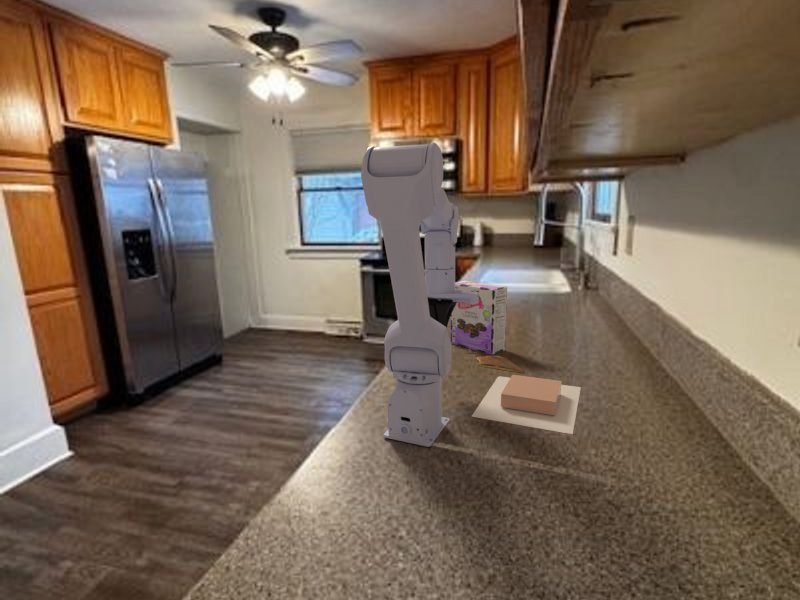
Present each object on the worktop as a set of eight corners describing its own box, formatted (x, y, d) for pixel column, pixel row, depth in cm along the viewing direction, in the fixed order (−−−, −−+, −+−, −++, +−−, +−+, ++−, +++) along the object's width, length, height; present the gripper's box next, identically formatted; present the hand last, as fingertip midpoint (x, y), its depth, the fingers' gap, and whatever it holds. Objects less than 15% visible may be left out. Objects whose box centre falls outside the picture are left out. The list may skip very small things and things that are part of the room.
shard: (524, 378, 95) (524, 370, 95) (490, 381, 94) (490, 373, 93) (503, 361, 105) (503, 354, 105) (472, 364, 104) (472, 356, 104)
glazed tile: (500, 408, 79) (554, 416, 75) (501, 393, 78) (555, 402, 74) (512, 387, 87) (560, 394, 84) (512, 374, 87) (561, 381, 83)
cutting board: (572, 437, 69) (572, 434, 69) (471, 419, 76) (471, 416, 76) (580, 390, 87) (580, 387, 87) (498, 378, 94) (498, 376, 93)
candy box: (449, 343, 119) (449, 282, 115) (464, 339, 122) (464, 279, 119) (491, 355, 108) (493, 288, 105) (506, 350, 112) (508, 285, 109)
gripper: (483, 266, 85) (482, 335, 88) (413, 264, 92) (414, 328, 94) (472, 271, 79) (471, 345, 82) (398, 268, 85) (400, 337, 88)
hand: (440, 337), depth 88 cm, fingers closed
